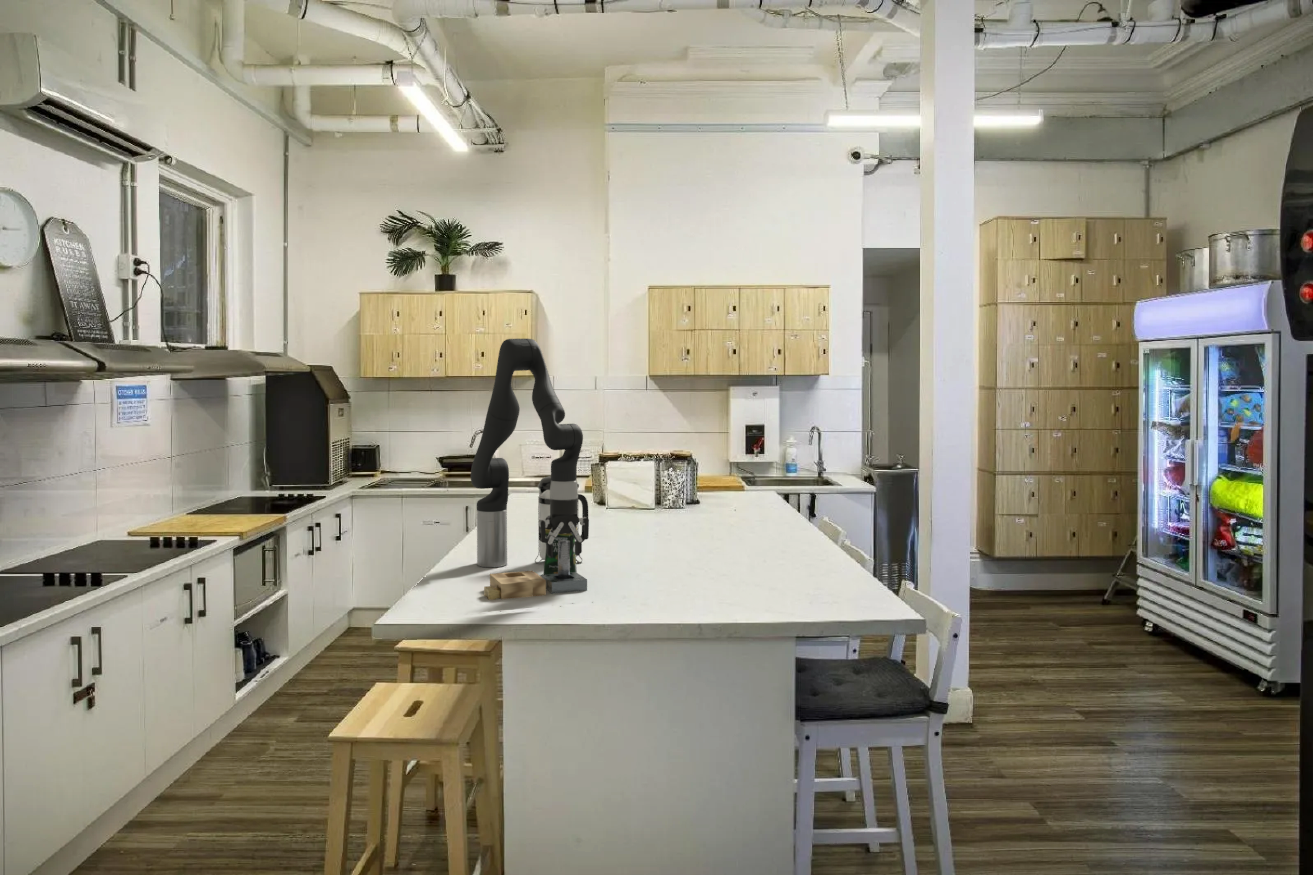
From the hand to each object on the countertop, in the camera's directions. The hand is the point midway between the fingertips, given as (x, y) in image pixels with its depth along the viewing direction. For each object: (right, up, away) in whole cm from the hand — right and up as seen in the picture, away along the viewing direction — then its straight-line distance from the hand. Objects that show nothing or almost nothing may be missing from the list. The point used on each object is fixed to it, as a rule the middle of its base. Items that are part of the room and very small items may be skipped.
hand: (563, 556), depth 268 cm
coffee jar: (-3, -9, +17) cm, 19 cm away
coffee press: (-5, -7, +40) cm, 41 cm away
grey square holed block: (0, -10, +1) cm, 10 cm away
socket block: (-12, -10, -4) cm, 16 cm away
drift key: (-16, -11, -9) cm, 21 cm away
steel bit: (0, -9, +1) cm, 9 cm away
